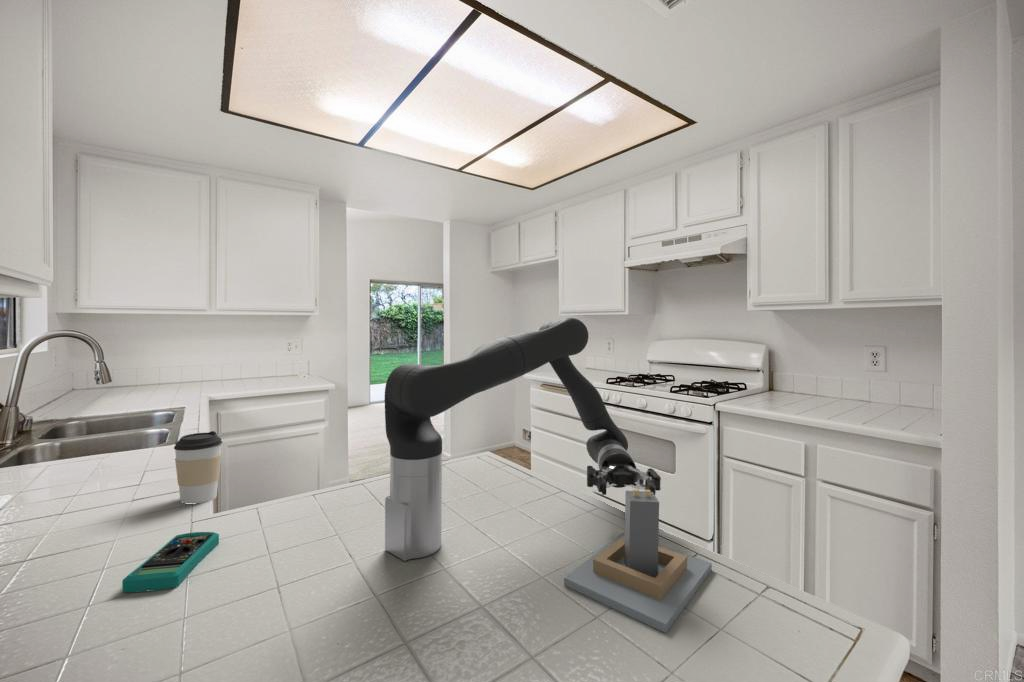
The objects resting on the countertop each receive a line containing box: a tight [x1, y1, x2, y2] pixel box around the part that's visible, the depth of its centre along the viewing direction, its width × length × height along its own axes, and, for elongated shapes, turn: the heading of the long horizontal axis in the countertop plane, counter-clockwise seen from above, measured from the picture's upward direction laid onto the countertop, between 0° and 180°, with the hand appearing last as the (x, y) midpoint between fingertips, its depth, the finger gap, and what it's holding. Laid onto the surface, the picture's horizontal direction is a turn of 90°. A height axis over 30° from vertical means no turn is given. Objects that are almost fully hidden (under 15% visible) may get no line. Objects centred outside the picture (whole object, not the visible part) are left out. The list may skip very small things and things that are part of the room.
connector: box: [624, 488, 660, 578], centre depth 69 cm, size 4×4×13 cm
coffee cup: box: [173, 430, 223, 504], centre depth 99 cm, size 9×9×15 cm
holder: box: [563, 532, 713, 634], centre depth 69 cm, size 20×16×3 cm
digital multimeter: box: [121, 531, 220, 593], centre depth 71 cm, size 7×15×3 cm, turn 12°
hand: (627, 490), depth 80 cm, fingers open, 8 cm apart
